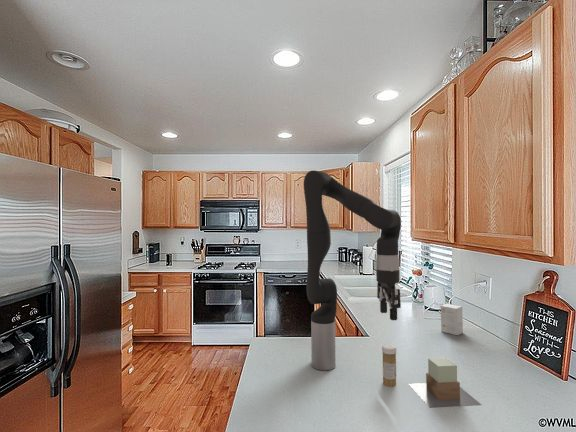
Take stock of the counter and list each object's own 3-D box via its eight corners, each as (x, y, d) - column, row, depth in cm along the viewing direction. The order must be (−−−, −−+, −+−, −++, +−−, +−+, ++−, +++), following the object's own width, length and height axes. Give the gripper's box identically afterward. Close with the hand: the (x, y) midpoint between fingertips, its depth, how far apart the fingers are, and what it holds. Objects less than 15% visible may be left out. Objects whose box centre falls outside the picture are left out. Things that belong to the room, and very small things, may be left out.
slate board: (408, 387, 109) (408, 384, 109) (453, 384, 110) (453, 381, 110) (429, 411, 95) (429, 407, 95) (481, 408, 96) (481, 404, 96)
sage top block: (428, 373, 105) (428, 358, 106) (446, 372, 106) (445, 357, 106) (438, 382, 99) (438, 366, 100) (457, 381, 100) (456, 365, 100)
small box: (463, 332, 161) (462, 306, 162) (457, 335, 157) (457, 308, 158) (446, 328, 168) (446, 303, 168) (440, 331, 164) (440, 305, 164)
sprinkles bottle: (386, 381, 113) (385, 342, 113) (399, 386, 110) (398, 345, 110) (380, 386, 109) (379, 346, 110) (393, 391, 106) (392, 349, 106)
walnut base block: (426, 388, 106) (426, 373, 106) (446, 387, 106) (446, 372, 106) (438, 400, 99) (437, 383, 99) (460, 399, 99) (459, 382, 100)
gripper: (369, 265, 117) (370, 311, 117) (384, 271, 103) (385, 323, 102) (390, 265, 118) (390, 310, 117) (407, 270, 103) (408, 322, 103)
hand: (388, 316), depth 110 cm, fingers open, 8 cm apart
